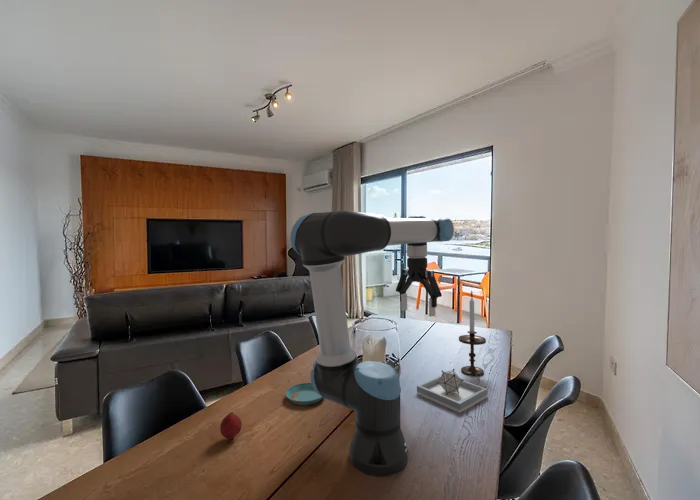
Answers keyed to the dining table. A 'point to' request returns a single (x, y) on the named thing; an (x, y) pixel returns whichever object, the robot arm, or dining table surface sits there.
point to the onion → (230, 425)
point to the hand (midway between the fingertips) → (417, 313)
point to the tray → (453, 394)
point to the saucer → (303, 394)
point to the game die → (450, 381)
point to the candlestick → (472, 344)
